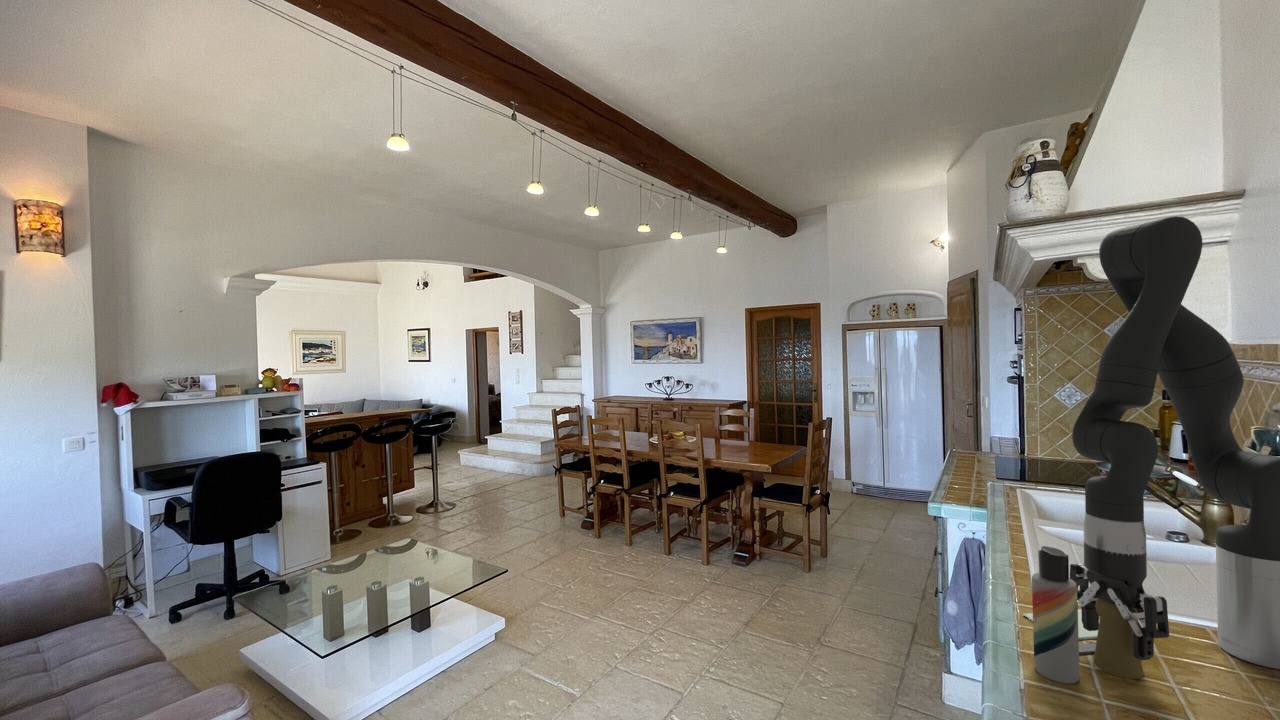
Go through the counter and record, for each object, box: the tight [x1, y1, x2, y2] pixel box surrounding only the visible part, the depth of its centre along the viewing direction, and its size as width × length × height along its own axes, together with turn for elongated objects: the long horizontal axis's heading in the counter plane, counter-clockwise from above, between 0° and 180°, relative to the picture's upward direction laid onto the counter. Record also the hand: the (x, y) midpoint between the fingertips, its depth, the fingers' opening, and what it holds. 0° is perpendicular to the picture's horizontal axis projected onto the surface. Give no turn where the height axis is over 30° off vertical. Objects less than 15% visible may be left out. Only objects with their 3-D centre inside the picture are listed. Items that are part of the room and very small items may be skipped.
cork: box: [1093, 598, 1145, 680], centre depth 85 cm, size 6×6×11 cm
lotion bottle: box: [1031, 545, 1080, 684], centre depth 84 cm, size 6×6×20 cm
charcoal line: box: [1079, 642, 1096, 656], centre depth 90 cm, size 16×2×1 cm, turn 94°
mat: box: [1022, 608, 1100, 641], centre depth 98 cm, size 12×9×1 cm
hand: (1115, 643), depth 85 cm, fingers open, 8 cm apart
